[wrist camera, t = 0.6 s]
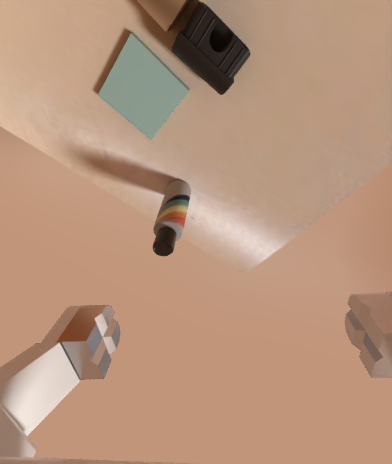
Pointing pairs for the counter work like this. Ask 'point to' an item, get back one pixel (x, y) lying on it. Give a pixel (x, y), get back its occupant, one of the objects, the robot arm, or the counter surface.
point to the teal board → (142, 87)
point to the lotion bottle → (171, 217)
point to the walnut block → (164, 11)
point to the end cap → (211, 49)
